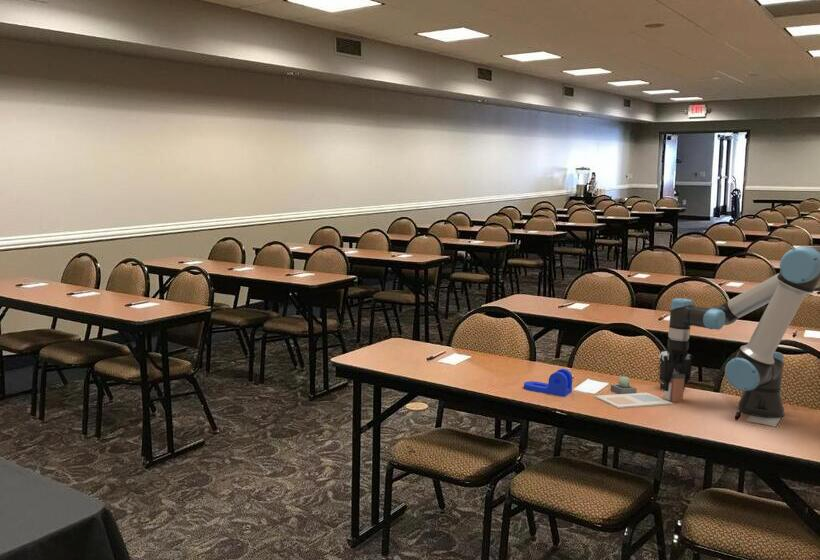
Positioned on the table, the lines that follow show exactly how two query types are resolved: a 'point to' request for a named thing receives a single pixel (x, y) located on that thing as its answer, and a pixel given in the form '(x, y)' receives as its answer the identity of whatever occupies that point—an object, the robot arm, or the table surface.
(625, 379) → the button
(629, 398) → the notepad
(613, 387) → the button housing
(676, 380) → the lidded container
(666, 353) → the coffee cup
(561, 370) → the bracket
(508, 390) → the table surface
